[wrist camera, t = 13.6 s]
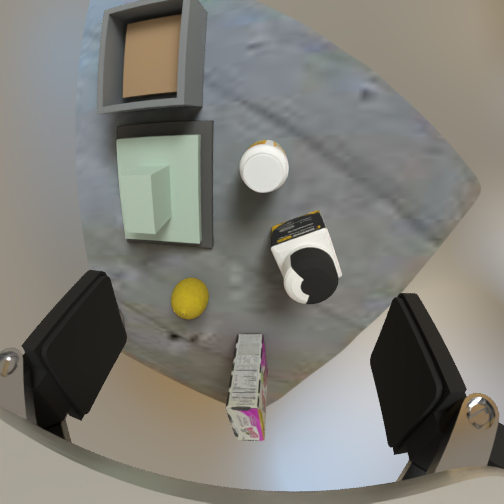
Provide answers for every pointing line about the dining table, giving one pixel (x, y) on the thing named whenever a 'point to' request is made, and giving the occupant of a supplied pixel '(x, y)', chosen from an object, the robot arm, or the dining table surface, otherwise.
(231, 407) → the candy bar box
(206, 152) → the mat
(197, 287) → the lemon
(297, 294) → the medicine bottle
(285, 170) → the supplement bottle
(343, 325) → the dining table surface
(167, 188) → the lid
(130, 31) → the storage box
